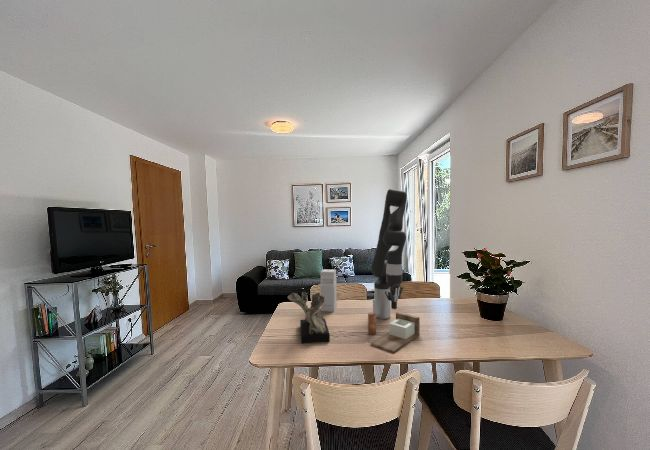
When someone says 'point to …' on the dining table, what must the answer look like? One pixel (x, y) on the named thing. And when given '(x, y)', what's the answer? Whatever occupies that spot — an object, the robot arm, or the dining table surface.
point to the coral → (311, 319)
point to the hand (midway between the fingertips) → (394, 308)
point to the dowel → (372, 323)
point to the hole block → (401, 328)
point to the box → (328, 290)
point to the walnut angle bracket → (394, 342)
